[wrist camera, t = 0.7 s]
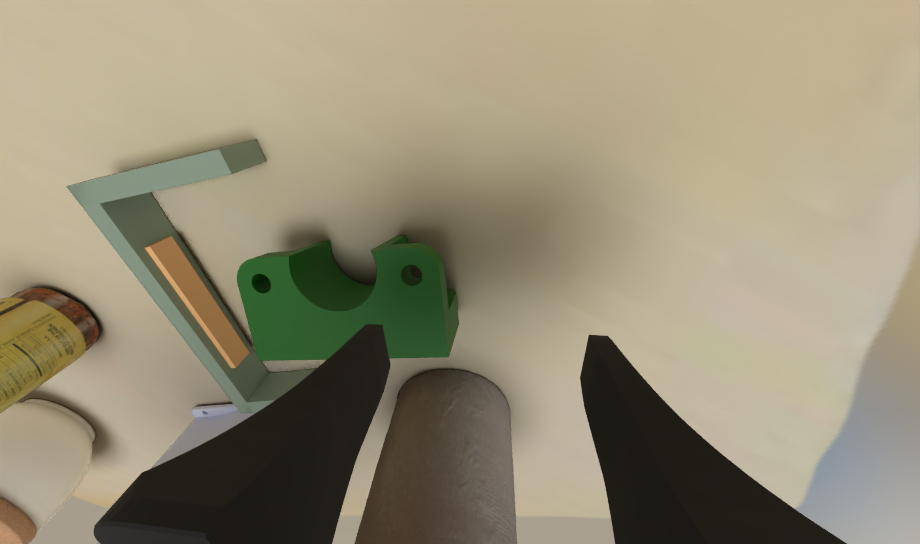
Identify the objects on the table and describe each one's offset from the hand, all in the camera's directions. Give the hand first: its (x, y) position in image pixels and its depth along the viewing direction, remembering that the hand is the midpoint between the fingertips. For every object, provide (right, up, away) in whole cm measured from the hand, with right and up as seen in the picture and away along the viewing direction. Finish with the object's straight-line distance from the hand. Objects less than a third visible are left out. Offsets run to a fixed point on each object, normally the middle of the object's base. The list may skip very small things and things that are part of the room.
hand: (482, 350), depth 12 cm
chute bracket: (-14, +2, +12) cm, 19 cm away
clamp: (-7, +3, +11) cm, 13 cm away
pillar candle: (-1, -9, +17) cm, 19 cm away
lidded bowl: (-42, -13, +24) cm, 50 cm away
